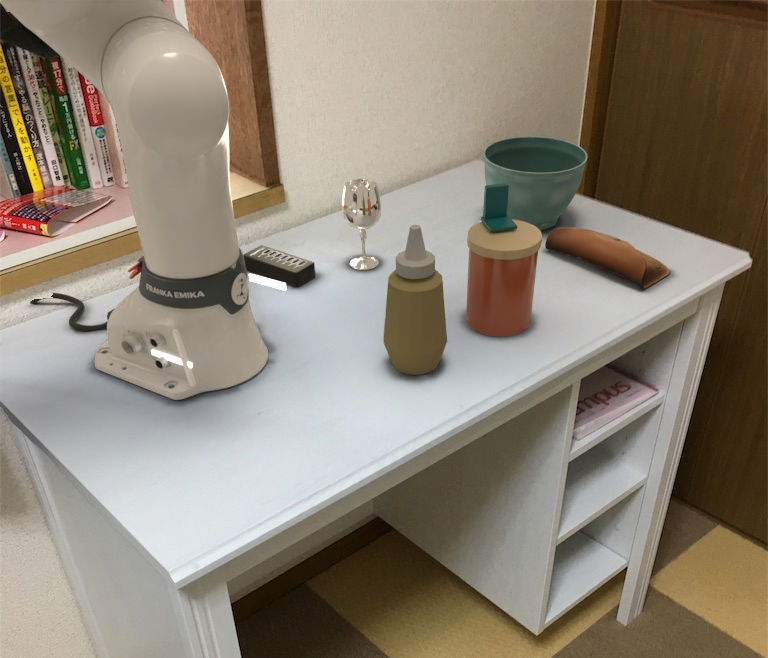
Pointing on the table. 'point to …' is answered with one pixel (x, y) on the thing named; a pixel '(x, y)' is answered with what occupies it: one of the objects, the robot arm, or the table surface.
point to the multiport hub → (279, 266)
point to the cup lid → (505, 241)
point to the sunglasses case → (607, 254)
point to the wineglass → (362, 214)
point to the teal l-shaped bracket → (497, 208)
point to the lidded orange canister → (500, 294)
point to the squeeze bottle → (415, 310)
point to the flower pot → (535, 176)
